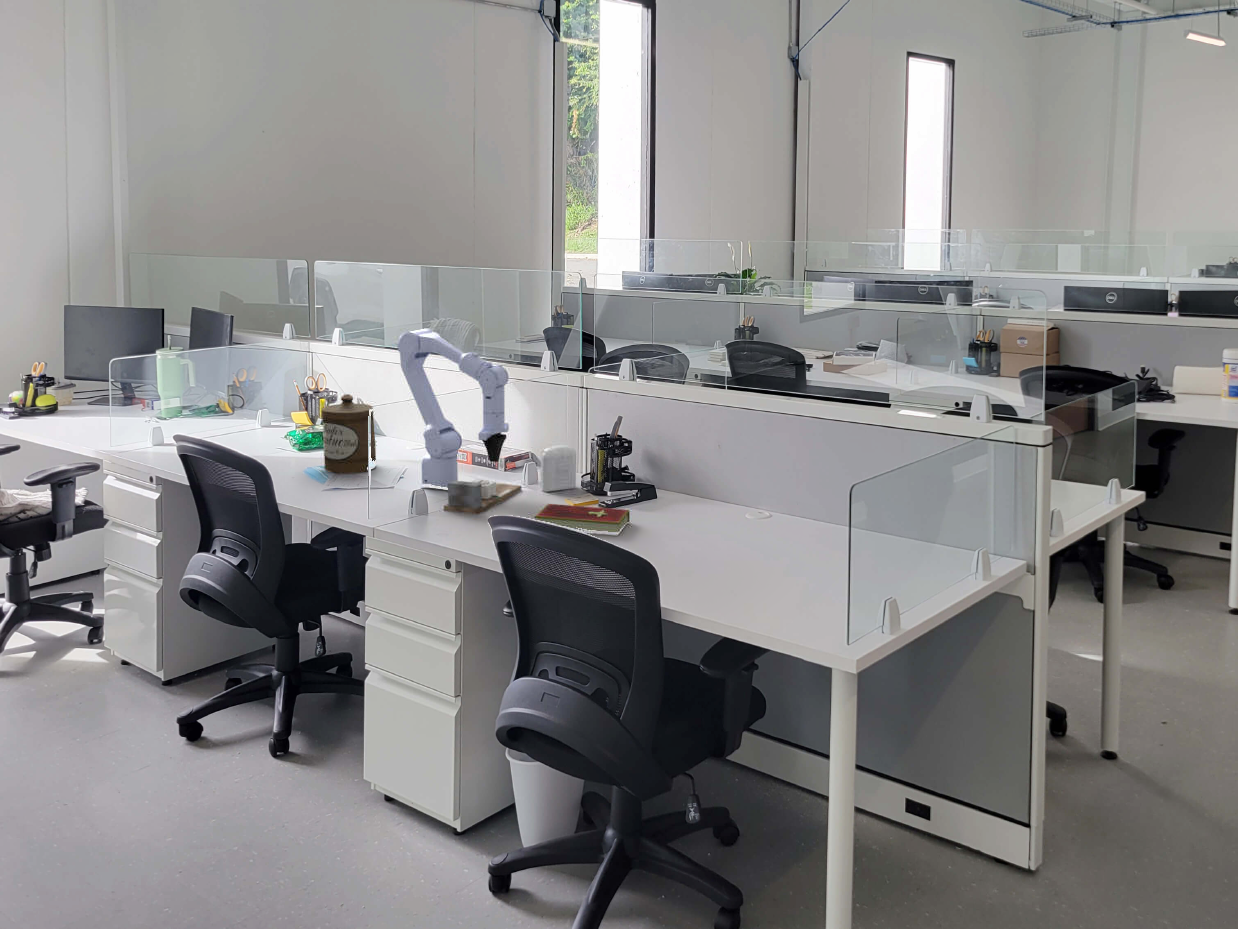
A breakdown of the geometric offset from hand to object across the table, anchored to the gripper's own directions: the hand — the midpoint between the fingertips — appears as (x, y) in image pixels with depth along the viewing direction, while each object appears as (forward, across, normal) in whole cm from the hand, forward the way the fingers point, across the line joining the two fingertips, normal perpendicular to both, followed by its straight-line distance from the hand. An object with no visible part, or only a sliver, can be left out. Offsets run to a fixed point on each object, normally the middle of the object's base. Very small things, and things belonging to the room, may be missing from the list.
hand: (494, 461), depth 291 cm
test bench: (+9, -6, 0) cm, 11 cm away
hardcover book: (+10, -19, -33) cm, 40 cm away
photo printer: (+9, +12, -14) cm, 20 cm away
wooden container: (+10, +11, +52) cm, 54 cm away
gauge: (+8, -9, -1) cm, 12 cm away
